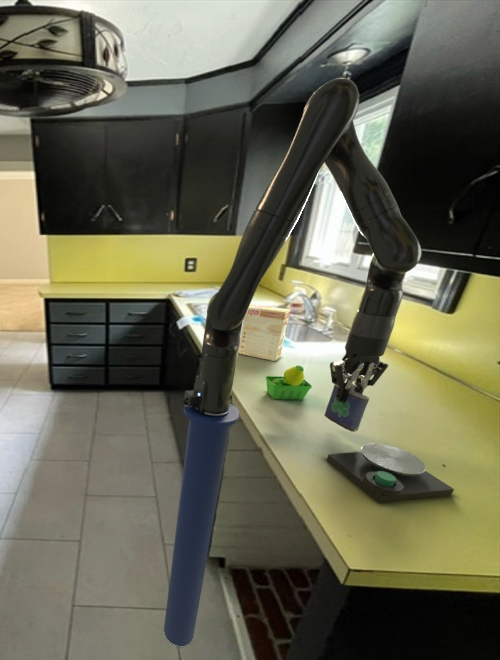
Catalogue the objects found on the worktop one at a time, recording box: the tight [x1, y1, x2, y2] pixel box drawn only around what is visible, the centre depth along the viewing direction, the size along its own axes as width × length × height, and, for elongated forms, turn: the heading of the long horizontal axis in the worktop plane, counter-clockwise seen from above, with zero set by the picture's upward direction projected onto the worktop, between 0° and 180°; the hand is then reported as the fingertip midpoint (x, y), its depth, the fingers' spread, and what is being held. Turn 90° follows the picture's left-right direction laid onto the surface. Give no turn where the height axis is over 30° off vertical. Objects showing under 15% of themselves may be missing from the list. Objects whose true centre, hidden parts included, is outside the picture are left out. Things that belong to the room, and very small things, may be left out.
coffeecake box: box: [238, 304, 291, 362], centre depth 144 cm, size 15×7×20 cm, turn 49°
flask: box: [324, 383, 370, 433], centre depth 89 cm, size 9×3×11 cm, turn 12°
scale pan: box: [360, 442, 427, 476], centre depth 77 cm, size 11×11×1 cm
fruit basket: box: [265, 365, 313, 401], centre depth 110 cm, size 11×9×11 cm
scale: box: [326, 451, 455, 504], centre depth 76 cm, size 16×14×3 cm
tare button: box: [374, 471, 396, 487], centre depth 70 cm, size 3×3×2 cm
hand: (347, 400), depth 89 cm, fingers closed on flask, 3 cm apart
